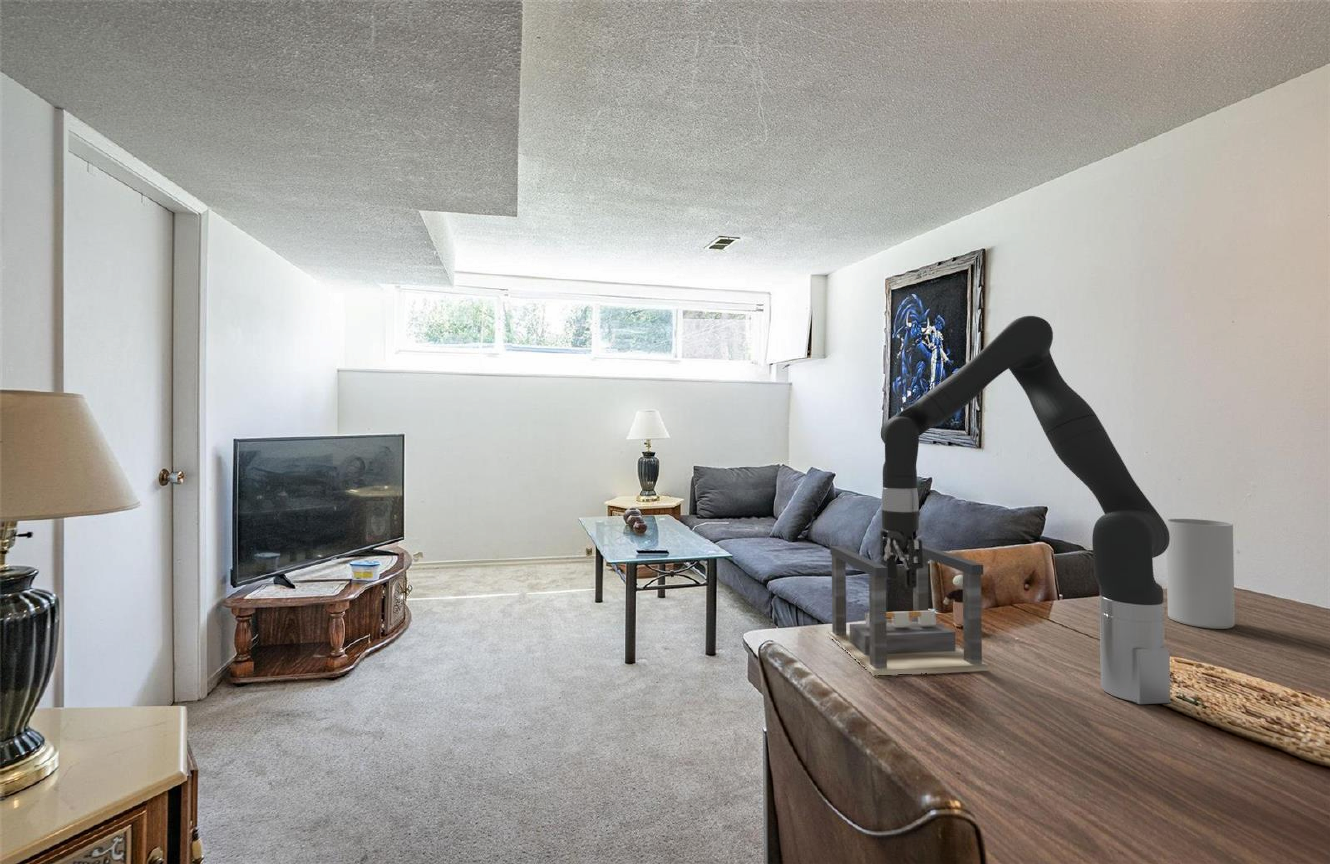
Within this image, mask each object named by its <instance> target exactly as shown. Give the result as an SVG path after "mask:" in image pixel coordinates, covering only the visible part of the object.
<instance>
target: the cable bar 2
mask: <svg viewBox="0 0 1330 864" xmlns="http://www.w3.org/2000/svg"><path fill="white" fill-rule="evenodd" d="M915 551H916V550H915ZM922 555H923V557H925V558H927V559H928V560H929V561H932V562H936V563H938V564H941V565H944V566H947V567H949V568H952V569H955V570H957V571H960V572H962V573H963V572H965V573H968V574H971V575H981V576H983V575H984V564H982V563H980V562H979V563H978V562H977V561H973V560H971V559H970V560H969V559H967V558H963V557H961V556H958V555H956V554H952V553H950V552H947V551H944V550H942V549H941V550H940V549H937V548H934V547H932V546H930V545H929V546H928V545H925V544H923V543H922Z"/></svg>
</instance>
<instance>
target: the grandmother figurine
mask: <svg viewBox="0 0 1330 864" xmlns="http://www.w3.org/2000/svg"><path fill="white" fill-rule="evenodd" d="M952 584H953V585H954V587H955V588H956V589H953V590H950V591H949V592H947V594H946V595H945V597H944V600H943V604H944V605H949V602H950V601H951V600H953V606H952V607H953V609H952V610H953V612H952V615H953V624H954V625H955V626H961V625H963V574H958V575H955V576H954V578H953V579H952Z"/></svg>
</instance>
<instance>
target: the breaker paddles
mask: <svg viewBox="0 0 1330 864" xmlns="http://www.w3.org/2000/svg"><path fill="white" fill-rule="evenodd" d="M864 616H865V617H864V618H865V624H866V626H867V627H870V624H869V612H865V613H864ZM916 616H918V624H920V625H936V622H937V620H936V611H935V610H931V609H928V611H913V610H912V611H911V610H910V611H909V610H907V611H905V610H904V611H886V619H888V618H891V623H892V625H894V626H910V622H911V621H910V618H911V617H916Z"/></svg>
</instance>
